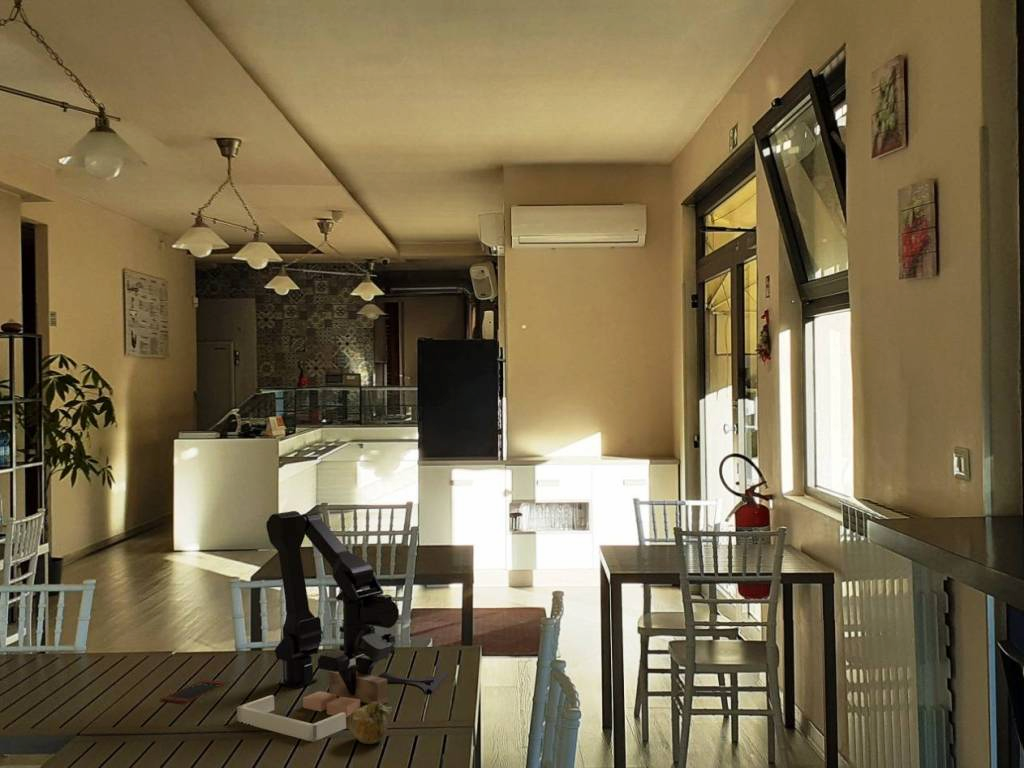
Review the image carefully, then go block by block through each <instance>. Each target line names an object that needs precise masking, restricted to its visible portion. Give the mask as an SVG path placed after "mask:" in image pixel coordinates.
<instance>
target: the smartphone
mask: <svg viewBox="0 0 1024 768" xmlns="http://www.w3.org/2000/svg"><path fill="white" fill-rule="evenodd" d="M199 683H203V684H201V685H197V684H199ZM204 683H205V684H207V685H205V684H204ZM208 684H212V685H208ZM226 684H228V685H229V682H227V681H218V680H211V679H210V680H209V679H208V680H207V679H204V680H200V681H198V682H196V683H193V684H192V685H191V684H190V685H189V686H187V687H184V688H182V689H180V690H177V691H175V692H173V693H171V694H168V695H166V696H164V697H161V698H160V700H162V701H161V702H164V701H167V702H166V703H172V702H175V703H174V704H179V703H187V702H189V703H191V702H193V701H192V700H194V699H196V698H198V699H200V698H201V697H200V696H202V695H204V694H207V693H208V692H211V691H213V690H215V689H217V688H220V687H222V686H224V685H226ZM195 685H196V686H195ZM216 685H220V686H216ZM192 686H194V687H192ZM226 686H227V685H226ZM224 687H225V686H224ZM222 688H223V687H222ZM220 689H221V688H220ZM213 692H214V691H213ZM211 693H212V692H211ZM207 695H208V694H207ZM199 697H200V698H199ZM202 697H203V696H202ZM196 700H197V699H196ZM190 701H191V702H190ZM194 701H195V700H194ZM187 704H188V703H187Z"/></svg>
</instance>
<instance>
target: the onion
mask: <svg viewBox="0 0 1024 768" xmlns="http://www.w3.org/2000/svg"><path fill="white" fill-rule="evenodd" d="M393 710H394V709H393V707H392V706H385V704H381V703H379V702H369V704H368V703H367V704H366V705H362V706H360V708H358V709H356V710H354V711H353V712H352V713H351V715H350V716H349V718H348V723H347V726H348V729H349V732H350V733H351V734H352V735H353V737H354V738H355V739H356V740H358V741H359V742H360V743H362V744H365V745H373V744H376V743H379V742H381V740H382V739H383V738H384V736H385V735H386V733H387V730H388V726H389V724H388V720H387V717H386V715H391V714H392V712H393Z"/></svg>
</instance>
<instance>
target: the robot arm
mask: <svg viewBox="0 0 1024 768" xmlns="http://www.w3.org/2000/svg"><path fill="white" fill-rule="evenodd" d="M265 526H266V531H267V534H268V539H269V542H270V544H271V545H272V546H273V547H274V549H275V550H276V552H278V558H279V563H280V564H279V565H280V571H281V572H280V573H281V577H282V586H283V592H284V599H285V604H286V605H285V606H286V611H287V616H286V618H285V621H284V624H283V626H282V640H281V641H280V642H279V644H278V645H277V646H276V647H275V649H274V653H275V657H276V660H280V661H282V673H283V674H282V676H283V679H282V680H279V681H278V682H277V684H278V685H281V686H286V687H291V688H295V689H297V688H298V689H299V688H302V687H304V686H307V685H310V684H313V683H315V682H317V681H318V678H314V675H313V673H314V670H313V669H314V667H313V666H314V665H313V664H314V663H313V661H312V655H316V654H317V655H318V653H319V649H320V644H321V642H322V638H323V637H322V635H323V634H324V632H323V630H322V626H321V625H322V623H321V621H322V620H321V618H320V617H319V616H314V614H313V613H312V611H311V610H310V605H309V598H308V592H307V587H306V586H307V585H306V579H305V572H304V567H303V566H304V565H303V564H304V563H303V559H302V552H301V547H302V545H303V542H304V540H305V536H306V537H307V539H309V541H310V542H311V543H312V545H313V546H314V547H315V548H316V549H317V552H319V554H321V556H322V557H323V558H324V560H325V561H326V562H327V563H328V564H329V566H330V567H331V571H332V578H333V580H334V581H335V583H336V585H337V586H338V588H339V589H340V590H341V591H340V592H339V593H338V594H337V595H336V596H335V599H336V600H337V601H342V623H343V625H341V626H339V629H338V630H339V632H340V633H343V644H340V645H339V651H342V652H343V653H342V652H337V651H329V652H325V653H323V654H320V655H319V657H318V658H317V668H318V669H320V670H325V671H328V672H329V671H333V672H338V673H339V674H340V676H341V677H342V679H343V681H344V683H345V685H346V687H347V689H348V691H349V693H350V695H355V689H356V672H358V673H363V674H367V675H371V674H372V672H373V669H374V666H375V665H376V664H377V663H378V662H380V661H381V660H384V659H385V660H386V659H388V658H389V656H390V654H393V653H395V651H396V650H395V649H396V639H395V636H396V635H395V634H394V633H392V632H387V633H385V634H383V635H382V634H379V635H378V634H376V631H375V630H376V628H375V627H379V628H384V629H390V628H393V627H394V626H395V625H396V623H397V622H398V619H399V616H400V615H399V614H400V611H399V608H398V605H397V603H396V602H394V601H392V595H391V594H384V590H383V589H382V585H381V584H380V582H379V580H378V579H377V577H376V574H375V573H374V569H373V567H372V566H371V565H370V563H368V562H367V561H366V560H365V559H363V558H362V557H361V556H358V555H355V554H353V553H351V552H350V551H349V550H348V549H347V548H346V547H345V545H344V544H343V543H342V542H341V540H340V539H339V538H338V537H337V535H336V534H334V532H333V531H332V530H331V528H329V526H328V525H327V524H326V523H325V522H324V519H323V517H322V515H321V514H320V513H318V512H314V511H313V512H308V513H302V514H301V513H300V512H299V511H297V510H292V511H285V512H279V513H273V514H271V515H270V516H269V517H268V520H267V521H266V525H265ZM371 676H372V675H371Z"/></svg>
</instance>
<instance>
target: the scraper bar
mask: <svg viewBox="0 0 1024 768" xmlns="http://www.w3.org/2000/svg"><path fill="white" fill-rule="evenodd" d="M388 685H389V683H387V679H385V678H384V677H382V678H380V677H379V676H375V675H367V674H363V673H358V672H357V671H356V689H355V695H350V693H349V691H348V689H347V687H346V685H345V683H344V681H343V679H342V677H341V676H340V674H339V673H338V672H333V671H329V670H328V687H329V688H328V691H329V692H328V693H331V694H337V697H347V698H354V699H360V703H365V704H367V705H368V704H369V702H379V703H381V704H383V705H385V704H386V703H389V702H388V701H389V698H388V697H389V694H388V693H389V691H388V690H389V689H388Z"/></svg>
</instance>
